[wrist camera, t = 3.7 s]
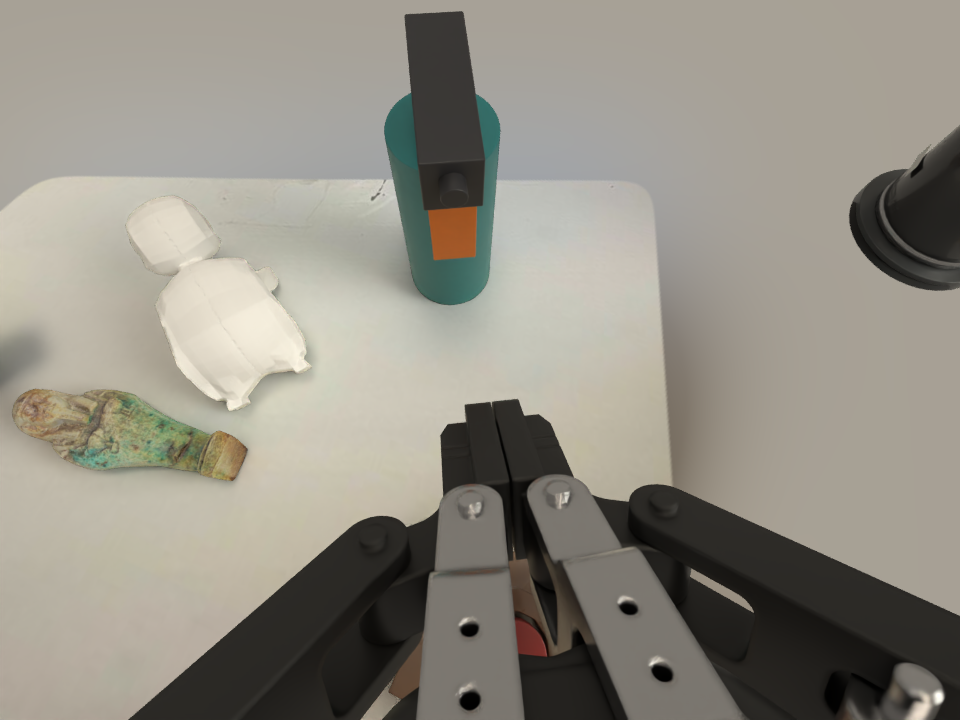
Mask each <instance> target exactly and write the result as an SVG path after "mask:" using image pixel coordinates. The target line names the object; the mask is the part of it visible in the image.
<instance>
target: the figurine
mask: <svg viewBox="0 0 960 720" xmlns="http://www.w3.org/2000/svg"><path fill="white" fill-rule="evenodd" d="M12 416H13V419H14V422H15V424H16V425H17V427H18V428H19V429H20V430H21V431H23V432H24V433H26V434H28V435H30V436H32V437H35V438H39V439H42V440H46V441H50V442H53V445H52V446H53V449H54V450H55V451H56V453H58V454H59V455H60V456H61V458H63V459H65V460H67V461H69V462H71V463H73V464H76V465H79V466H82V467H84V468H87V469H92V470H107V469H113V468H119V467H142V466H163V467H169V468H175V469H179V470H187V471H198V473H200V475H203V476H206V477H211V478H216V479H222V480H229V481H233V480H234V479H235V478H236V476H237V474H238V472H239V469H240V467H241V465H242V462H243V460H244V458H245V455H246V452H247V448H246V447H245V446H244V445H243V444H242V443H241V442H240V441H239V440H238V439H236V438H235V437H233V436H231V435H229V434H227V433H224V432H222V431H216V432H215V433H213V434H212V435H208V434H206V433H204V432H202V431H200V430H198V429H195V428H193V427H190V426H187V425H184V424H181V423H179V422H177V421H175V420H173V419H171V418H169V417H167V416H165V415H164V414H162V413H160V412H159V411H157V410H155V409H153V408H151V407H150V406H148V405H147V404H145V403H144V402H142V401H141V400H140V399H139V398H138V397H137V396H136V395H134V394H130V393H126V392H121V391H115V390H93V391H90V392H86V393H84V395H82V396H78V395H71V394H65V393H61V392H57V391H52V390H40V389H33V390H30V391H28V392H25V393H24V394H22V395H21V396H20V397H19V398H18V399H17V400H16V402H15V403H14V406H13V410H12Z"/></svg>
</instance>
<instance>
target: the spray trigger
mask: <svg viewBox="0 0 960 720" xmlns="http://www.w3.org/2000/svg"><path fill="white" fill-rule="evenodd" d="M428 214H429V223H430V232H431V240H432V249H433V258H434V260H443V259H455V258H466V257H475V256H476V225H477V207H465V208H452V209H439V210H428Z"/></svg>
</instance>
